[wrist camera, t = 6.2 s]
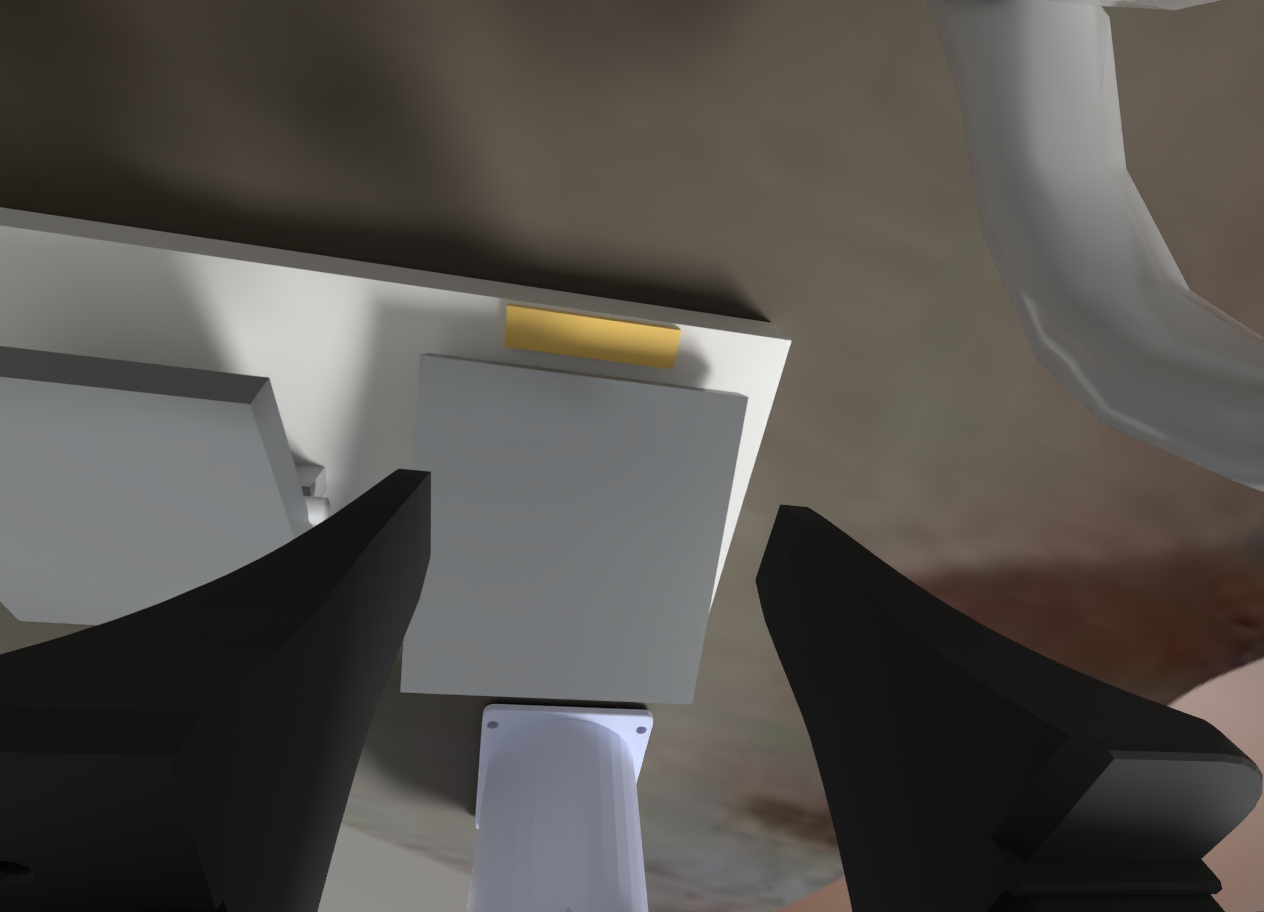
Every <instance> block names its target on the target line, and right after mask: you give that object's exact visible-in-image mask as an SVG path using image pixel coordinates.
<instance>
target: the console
mask: <svg viewBox="0 0 1264 912" xmlns="http://www.w3.org/2000/svg"><path fill="white" fill-rule="evenodd" d="M790 344H791V340H790V339H789V338H788V337H787V336H786V335H785V334H784V333H783V332H781V331H780V330H779V329H778V328H777V327H776V326H775V325H774V324H773V323H770V322H764V321H757V320H750V319H744V318H737V317H730V316H723V315H717V314H710V313H703V312H697V311H690V310H683V309H677V308H670V307H663V306H657V305H650V304H643V303H637V302H630V301H623V300H617V299H610V298H603V297H597V296H590V295H583V294H577V293H570V292H563V291H556V290H550V289H543V288H536V287H530V286H523V285H516V284H510V283H503V282H496V281H490V280H483V279H476V278H470V277H463V276H456V275H450V274H443V273H436V272H430V271H423V270H416V269H410V268H403V267H396V266H390V265H383V264H376V263H369V262H363V261H356V260H349V259H343V258H336V257H329V256H323V255H316V254H309V253H303V252H296V251H289V250H283V249H276V248H269V247H263V246H256V245H249V244H243V243H236V242H229V241H223V240H216V239H209V238H202V237H196V236H189V235H182V234H176V233H169V232H162V231H156V230H149V229H142V228H136V227H129V226H122V225H116V224H109V223H102V222H96V221H89V220H82V219H76V218H69V217H62V216H56V215H49V214H42V213H36V212H29V211H22V210H15V209H9V208H2V207H0V346H5V347H14V348H22V349H31V350H39V351H48V352H56V353H65V354H73V355H82V356H90V357H99V358H107V359H116V360H124V361H133V362H141V363H150V364H158V365H167V366H175V367H184V368H192V369H201V370H209V371H218V372H226V373H235V374H243V375H252V376H260V377H269V378H270V382H271V385H272V389H273V392H274V396H275V399H276V402H277V406H278V409H279V413H280V416H281V420H282V423H283V426H284V430H285V433H286V437H287V440H288V444H289V447H290V451H291V454H292V457H293V461H294V464H295V468H296V471H297V475H298V478H299V481H300V485H301V488H302V492H303V495H305V496H316V497H327V498H328V499H329V501H330V511H329V516H328V518H329V517H330V516H332V515H333V514H335V513H336V512H338V511H339V510H341V509H342V508H344V507H345V506H346V505H348V504H349V503H351V502H352V501H354V500H355V499H356V498H358V497H359V496H361V495H362V494H363V493H365V492H366V491H368V490H369V489H370V488H372V487H373V486H374V485H376V484H377V483H379V482H380V481H381V480H383V479H384V478H386V477H387V476H388V475H390V474H391V473H393V472H394V471H396V470H397V469H409V470H414V453H415V436H416V419H417V403H418V386H419V369H420V355H422V354H426V353H434V354H442V355H449V356H457V357H465V358H473V359H480V360H488V361H496V362H504V363H511V364H519V365H527V366H535V367H543V368H550V369H558V370H566V371H574V372H581V373H589V374H597V375H605V376H612V377H620V378H628V379H636V380H643V381H651V382H659V383H667V384H674V385H682V386H690V387H698V388H706V389H713V390H721V391H729V392H737V393H740V394H742V395H745V396H747V397H748V403H747V408H746V413H745V419H744V424H743V430H742V435H741V441H740V446H739V452H738V457H737V463H736V468H735V474H734V479H733V485H732V490H731V496H730V501H729V506H728V512H727V517H726V523H725V528H724V534H723V539H722V545H721V550H720V556H719V561H718V567H717V572H716V578H715V583H714V588H713V594H712V599H711V605H712V602H713V599H714V595H715V592H716V589H717V585H718V582H719V579H720V575H721V572H722V569H723V565H724V562H725V559H726V556H727V552H728V549H729V546H730V542H731V539H732V536H733V532H734V529H735V526H736V522H737V519H738V516H739V513H740V509H741V506H742V503H743V499H744V496H745V493H746V489H747V486H748V483H749V479H750V476H751V473H752V470H753V466H754V463H755V460H756V456H757V453H758V450H759V446H760V443H761V440H762V436H763V433H764V430H765V427H766V423H767V420H768V417H769V413H770V410H771V407H772V403H773V400H774V397H775V393H776V390H777V387H778V384H779V380H780V377H781V374H782V370H783V367H784V364H785V360H786V357H787V354H788V350H789V347H790ZM316 525H318V524H312V526H313V527H314V526H316ZM711 605H710V609H711ZM709 612H710V610H709Z"/></svg>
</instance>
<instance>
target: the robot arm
mask: <svg viewBox="0 0 1264 912" xmlns="http://www.w3.org/2000/svg"><path fill="white" fill-rule="evenodd" d="M430 557H431V471H420V470H409V469H397V470H396V471H394V472H393V473H391V474H390V475H388V476H387V477H386V478H384V479H383V480H381V481H380V482H379V483H377V484H376V485H374V486H373V487H372V488H370V489H369V490H368V491H366V492H365V493H363V494H362V495H361V496H359V497H358V498H356V499H355V500H354V501H352V502H351V503H349V504H348V505H346V506H345V507H344V508H342V509H341V510H339V511H338V512H336V513H335V514H333V515H332V516H330V517H329V518H327V519H326V520H324V521H322V522H321V523H319V524H318V525H316V526H314V527H313V528H311V529H309V530H308V531H306V532H305V533H303V534H301V535H300V536H298V537H297V538H295V539H293V540H292V541H290V542H288V543H287V544H285V545H283V546H281V547H280V548H278V549H276V550H274V551H272V552H271V553H269V554H267V555H265V556H263V557H261V558H259V559H257V560H255V561H253V562H251V563H249V564H247V565H245V566H243V567H241V568H239V569H237V570H235V571H233V572H231V573H229V574H227V575H225V576H223V577H220V578H218V579H216V580H213V581H211V582H209V583H206V584H204V585H201V586H199V587H197V588H194V589H192V590H190V591H187V592H185V593H182V594H180V595H178V596H175V597H173V598H171V599H168V600H166V601H163V602H161V603H159V604H156V605H153V606H151V607H148V608H145V609H142V610H140V611H137V612H134V613H131V614H129V615H126V616H123V617H120V618H118V619H115V620H112V621H109V622H106V623H103V624H100V625H97V626H94V627H91V628H88V629H85V630H82V631H79V632H76V633H73V634H69V635H66V636H63V637H60V638H57V639H53V640H50V641H47V642H43V643H40V644H36V645H32V646H29V647H25V648H22V649H18V650H15V651H11V652H8V653H4V654H0V912H317V911H318V907H319V903H320V900H321V896H322V892H323V888H324V884H325V881H326V877H327V873H328V869H329V865H330V862H331V858H332V854H333V851H334V847H335V843H336V839H337V835H338V832H339V828H340V825H341V821H342V818H343V814H344V811H345V807H346V804H347V800H348V796H349V793H350V789H351V786H352V782H353V779H354V775H355V772H356V768H357V765H358V762H359V758H360V755H361V751H362V748H363V745H364V741H365V738H366V735H367V731H368V728H369V725H370V722H371V719H372V716H373V713H374V710H375V708H376V705H377V702H378V699H379V697H380V695H381V692H382V690H383V687H384V685H385V682H386V680H387V678H388V675H389V673H390V670H391V668H392V665H393V663H394V661H395V658H396V656H397V653H398V651H399V648H400V646H401V644H402V641H403V639H404V636H405V634H406V631H407V629H408V627H409V624H410V622H411V619H412V617H413V614H414V612H415V609H416V607H417V604H418V602H419V599H420V595H421V592H422V588H423V584H424V580H425V577H426V573H427V569H428V565H429V561H430ZM756 584H757V589H758V593H759V598H760V603H761V607H762V611H763V614H764V618H765V622H766V625H767V627H768V630H769V633H770V635H771V638H772V640H773V643H774V646H775V648H776V651H777V653H778V656H779V658H780V661H781V663H782V666H783V668H784V671H785V673H786V676H787V678H788V681H789V683H790V686H791V688H792V691H793V693H794V696H795V698H796V701H797V703H798V706H799V708H800V711H801V713H802V716H803V719H804V722H805V725H806V727H807V730H808V733H809V736H810V739H811V743H812V746H813V750H814V754H815V757H816V761H817V764H818V768H819V771H820V775H821V778H822V782H823V786H824V790H825V794H826V798H827V802H828V805H829V809H830V813H831V817H832V821H833V825H834V829H835V833H836V837H837V842H838V846H839V851H840V856H841V860H842V865H843V869H844V874H845V878H846V883H847V887H848V892H849V896H850V901H851V906H852V912H1225V911H1224V910H1223V909H1222V908H1221V907H1220V905H1219V904H1218V903H1217V902H1216V901H1215V899H1214V898H1213V897H1212V896H1211V895H1210V894H1217V893H1218V892H1219V891H1220V890H1222V886H1221V881H1220V880H1219V879H1218V878H1217V877H1216V875H1215V874H1214V873H1213V872H1212V871H1211V870H1210V869H1209V867H1208V866H1207V865H1206V864H1205V863H1204V862H1203V861H1202V860H1201V858H1203V857H1204V856H1205V855H1206V854H1207V853H1208V852H1209V851H1210V850H1212V849H1213V848H1214V847H1215V846H1216V845H1217V844H1218V843H1219V842H1220V841H1221V840H1222V839H1223V838H1225V837H1226V836H1227V835H1228V834H1229V833H1230V832H1231V831H1232V830H1233V829H1234V828H1236V827H1237V826H1238V825H1239V824H1240V823H1241V822H1242V821H1243V820H1244V819H1245V818H1246V817H1247V816H1248V814H1249V813H1250V812H1251V811H1252V810H1253V809H1254V808H1255V806H1256V804H1257V802H1258V800H1259V798H1260V796H1261V794H1262V773H1261V771H1260V770H1259V768H1258V766H1257V765H1256V763H1254V762H1253V761H1252V760H1251V759H1250V758H1249V757H1248V756H1247V755H1246V754H1244V753H1243V752H1242V751H1241V750H1240V749H1239V748H1238V747H1237V746H1236V745H1235V744H1234V743H1232V742H1231V741H1230V740H1229V739H1228V738H1227V737H1226V736H1225V735H1224V734H1223V733H1221V732H1220V731H1219V730H1218V729H1216V728H1215V727H1214V726H1213V725H1211V724H1210V723H1208V722H1207V721H1205V720H1203V719H1200V718H1198V717H1195V716H1192V715H1189V714H1187V713H1183V712H1181V711H1178V710H1176V709H1173V708H1170V707H1167V706H1165V705H1162V704H1159V703H1156V702H1154V701H1151V700H1148V699H1145V698H1143V697H1140V696H1137V695H1135V694H1132V693H1129V692H1126V691H1124V690H1121V689H1119V688H1116V687H1114V686H1111V685H1109V684H1107V683H1104V682H1102V681H1099V680H1097V679H1095V678H1092V677H1090V676H1088V675H1085V674H1083V673H1080V672H1078V671H1076V670H1073V669H1071V668H1069V667H1067V666H1064V665H1062V664H1060V663H1058V662H1056V661H1053V660H1051V659H1049V658H1047V657H1045V656H1043V655H1041V654H1039V653H1037V652H1034V651H1032V650H1030V649H1028V648H1026V647H1024V646H1022V645H1020V644H1018V643H1016V642H1014V641H1012V640H1010V639H1008V638H1006V637H1004V636H1002V635H1001V634H999V633H997V632H995V631H993V630H991V629H989V628H987V627H986V626H984V625H982V624H980V623H979V622H977V621H975V620H973V619H972V618H970V617H968V616H966V615H965V614H963V613H961V612H960V611H958V610H956V609H954V608H953V607H951V606H949V605H948V604H946V603H944V602H943V601H941V600H940V599H938V598H936V597H935V596H933V595H932V594H930V593H929V592H927V591H926V590H924V589H923V588H921V587H920V586H918V585H917V584H915V583H914V582H912V581H911V580H909V579H908V578H906V577H905V576H903V575H902V574H900V573H899V572H898V571H896V570H895V569H893V568H892V567H891V566H889V565H888V564H886V563H885V562H884V561H882V560H881V559H879V558H878V557H877V556H875V555H874V554H873V553H871V552H870V551H869V550H867V549H866V548H865V547H863V546H862V545H861V544H859V543H858V542H857V541H855V540H854V539H853V538H851V537H850V536H849V535H847V534H846V533H845V532H843V531H842V530H840V529H839V528H838V527H836V526H835V525H834V524H832V523H831V522H829V521H828V520H827V519H825V518H824V517H822V516H821V515H819V514H818V513H816V512H815V511H813V510H811V509H810V508H808V507H800V506H790V505H780V507H779V510H778V513H777V516H776V519H775V522H774V525H773V528H772V531H771V534H770V537H769V540H768V543H767V546H766V549H765V552H764V556H763V559H762V562H761V565H760V568H759V571H758V574H757V577H756ZM652 725H653V716H652V713H651V712H649V711H648V710H638V709H613V708H588V707H562V706H537V705H512V704H491V705H488V706H486V707H485V708H484V711H483V717H482V731H481V745H480V759H479V773H478V787H477V801H476V815H475V827H476V828H477V829H478V835H477V843H476V850H475V857H474V864H473V871H472V878H471V885H470V892H469V899H468V906H467V912H648V904H647V894H646V883H645V872H644V862H643V851H642V841H641V830H640V820H639V809H638V799H637V788H636V783H637V779H638V776H639V772H640V769H641V765H642V761H643V758H644V754H645V750H646V747H647V743H648V739H649V736H650V732H651V729H652ZM1257 912H1264V911H1257Z"/></svg>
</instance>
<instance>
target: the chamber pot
mask: <svg viewBox="0 0 1264 912" xmlns="http://www.w3.org/2000/svg"><path fill="white" fill-rule="evenodd" d="M1215 1H1219V0H927V2H928V4H929V7H930V9H931V11H932V13H933V16H934V18H935V20H936V23H937V26H938V29H939V32H940V35H941V38H942V41H943V44H944V47H945V50H946V53H947V56H948V60H949V63H950V66H951V69H952V72H953V75H954V78H955V81H956V84H957V87H958V90H959V94H960V99H961V105H962V111H963V117H964V123H965V129H966V135H967V141H968V147H969V153H970V159H971V164H972V170H973V176H974V182H975V188H976V194H977V200H978V206H979V212H980V218H981V224H982V229H983V234H984V237H985V239H986V241H987V244H988V246H989V248H990V251H991V253H992V255H993V258H994V260H995V262H996V265H997V267H998V269H999V272H1000V274H1001V276H1002V279H1003V281H1004V284H1005V286H1006V288H1007V291H1008V293H1009V295H1010V298H1011V300H1012V302H1013V305H1014V307H1015V309H1016V312H1017V314H1018V316H1019V319H1020V321H1021V323H1022V326H1023V328H1024V331H1025V333H1026V335H1027V338H1028V340H1029V342H1030V345H1031V347H1032V349H1033V352H1034V354H1035V356H1036V359H1037V360H1038V361H1039V362H1040V363H1041V364H1042V365H1043V366H1044V367H1045V368H1046V369H1047V370H1048V371H1049V372H1050V373H1051V374H1052V375H1053V376H1054V377H1055V378H1056V379H1058V380H1059V381H1060V382H1061V383H1062V384H1063V385H1064V386H1065V387H1066V388H1067V389H1068V390H1069V391H1070V392H1071V393H1072V394H1073V395H1074V396H1075V397H1076V398H1077V399H1078V400H1079V401H1081V402H1082V403H1083V404H1084V405H1085V406H1086V407H1087V408H1088V409H1089V410H1090V411H1091V412H1092V413H1093V414H1094V415H1095V416H1096V417H1097V418H1098V419H1099V420H1100V421H1101V422H1102V423H1104V424H1105V425H1106V426H1109V427H1111V428H1113V429H1115V430H1118V431H1120V432H1122V433H1125V434H1127V435H1129V436H1132V437H1134V438H1136V439H1139V440H1141V441H1143V442H1146V443H1148V444H1150V445H1152V446H1155V447H1157V448H1159V449H1162V450H1164V451H1166V452H1169V453H1171V454H1173V455H1176V456H1178V457H1180V458H1182V459H1185V460H1187V461H1189V462H1192V463H1194V464H1196V465H1199V466H1201V467H1203V468H1206V469H1208V470H1210V471H1212V472H1215V473H1217V474H1219V475H1222V476H1224V477H1226V478H1229V479H1231V480H1234V481H1236V482H1239V483H1242V484H1244V485H1247V486H1249V487H1252V488H1255V489H1257V490H1260V491H1262V492H1264V338H1263V337H1261V336H1260V335H1258V334H1256V333H1255V332H1253V331H1252V330H1250V329H1249V328H1247V327H1246V326H1244V325H1243V324H1241V323H1239V322H1238V321H1236V320H1235V319H1233V318H1232V317H1230V316H1229V315H1227V314H1226V313H1224V312H1222V311H1221V310H1219V309H1218V308H1216V307H1215V306H1213V305H1212V304H1210V303H1209V302H1207V301H1205V300H1204V299H1202V298H1201V297H1199V296H1198V295H1196V294H1195V293H1193V292H1192V291H1190V290H1189V288H1188V286H1187V284H1186V282H1185V280H1184V278H1183V276H1182V274H1181V272H1180V271H1179V269H1178V267H1177V265H1176V263H1175V261H1174V259H1173V257H1172V255H1171V253H1170V251H1169V250H1168V248H1167V246H1166V244H1165V242H1164V240H1163V238H1162V236H1161V234H1160V232H1159V230H1158V228H1157V227H1156V225H1155V223H1154V221H1153V219H1152V217H1151V215H1150V213H1149V211H1148V209H1147V207H1146V205H1145V204H1144V202H1143V200H1142V198H1141V196H1140V194H1139V192H1138V190H1137V188H1136V186H1135V184H1134V183H1133V181H1132V179H1131V177H1130V175H1129V173H1128V171H1127V169H1126V163H1125V154H1124V145H1123V136H1122V127H1121V118H1120V109H1119V100H1118V91H1117V82H1116V73H1115V64H1114V55H1113V46H1112V37H1111V28H1110V19H1109V17H1108V15H1107V14H1106V12H1105V11H1104V9H1103V8H1102V7H1101V6H1115V7H1131V8H1148V9H1164V10H1177V9H1182V8H1187V7H1191V6H1196V5H1201V4H1205V3H1210V2H1215Z"/></svg>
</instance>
